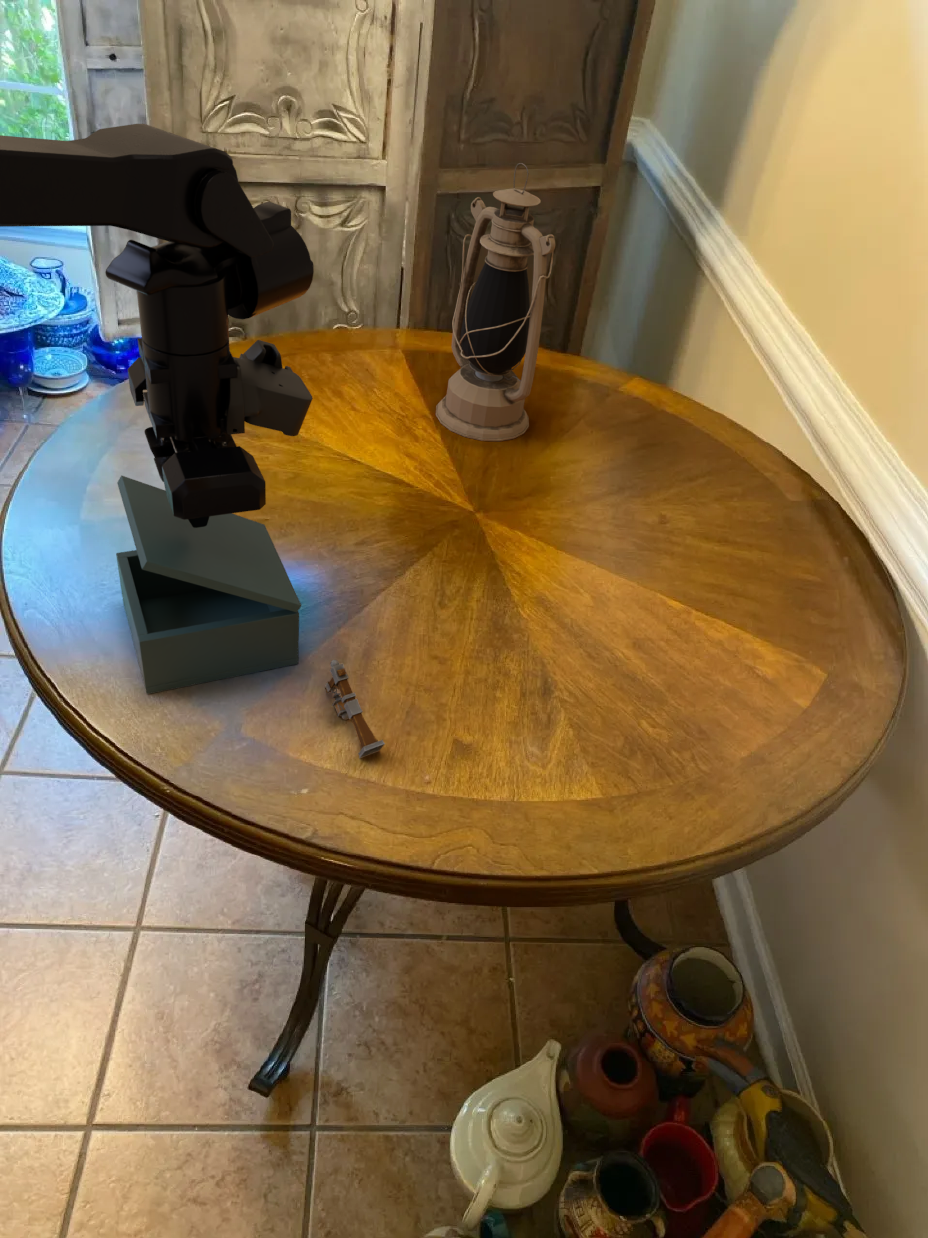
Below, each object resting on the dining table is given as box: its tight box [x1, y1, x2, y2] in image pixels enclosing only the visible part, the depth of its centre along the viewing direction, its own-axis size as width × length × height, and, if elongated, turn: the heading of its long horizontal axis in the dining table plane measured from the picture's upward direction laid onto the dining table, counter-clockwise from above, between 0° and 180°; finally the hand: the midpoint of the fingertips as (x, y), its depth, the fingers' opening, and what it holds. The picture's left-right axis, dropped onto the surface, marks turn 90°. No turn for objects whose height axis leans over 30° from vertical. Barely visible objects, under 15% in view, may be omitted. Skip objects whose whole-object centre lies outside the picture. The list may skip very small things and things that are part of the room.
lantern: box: [435, 162, 556, 442], centre depth 106 cm, size 14×12×30 cm
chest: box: [115, 549, 300, 695], centre depth 78 cm, size 13×12×6 cm
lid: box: [116, 475, 302, 612], centre depth 74 cm, size 13×12×1 cm
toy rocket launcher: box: [324, 659, 386, 759], centre depth 73 cm, size 2×8×4 cm, turn 32°
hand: (199, 524), depth 72 cm, fingers closed
